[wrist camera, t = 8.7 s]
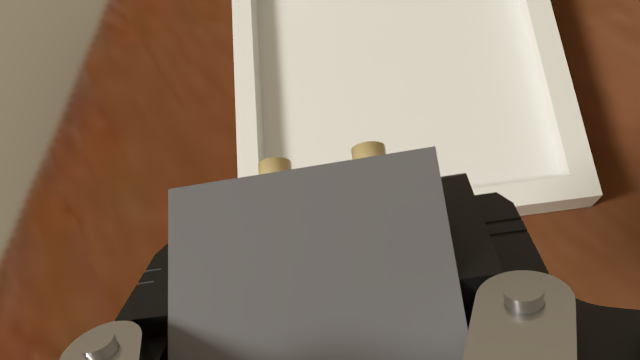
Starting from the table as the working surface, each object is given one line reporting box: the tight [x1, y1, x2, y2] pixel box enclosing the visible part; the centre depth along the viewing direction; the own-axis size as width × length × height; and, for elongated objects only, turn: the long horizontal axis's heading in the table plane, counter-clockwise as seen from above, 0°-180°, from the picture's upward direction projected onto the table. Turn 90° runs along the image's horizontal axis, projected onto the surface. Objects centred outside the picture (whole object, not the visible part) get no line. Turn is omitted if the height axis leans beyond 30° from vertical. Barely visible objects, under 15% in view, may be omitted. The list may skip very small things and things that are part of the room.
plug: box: [168, 141, 468, 360], centre depth 12 cm, size 4×6×8 cm
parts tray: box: [232, 0, 603, 216], centre depth 32 cm, size 18×18×2 cm
